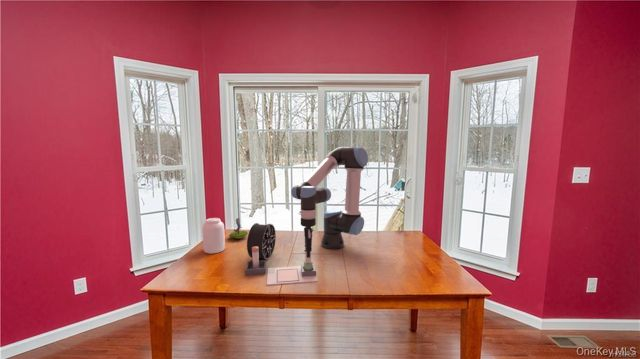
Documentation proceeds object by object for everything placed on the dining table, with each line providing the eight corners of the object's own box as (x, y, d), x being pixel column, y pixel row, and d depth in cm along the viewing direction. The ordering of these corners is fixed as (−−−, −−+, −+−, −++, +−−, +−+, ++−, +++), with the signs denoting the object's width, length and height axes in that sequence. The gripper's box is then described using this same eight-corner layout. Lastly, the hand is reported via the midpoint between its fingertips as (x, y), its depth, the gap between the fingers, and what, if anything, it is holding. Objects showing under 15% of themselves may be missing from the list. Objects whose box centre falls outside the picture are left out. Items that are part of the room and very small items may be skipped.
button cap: (311, 268, 139) (311, 260, 139) (313, 272, 135) (313, 264, 134) (303, 268, 138) (303, 261, 138) (304, 272, 134) (304, 265, 134)
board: (312, 266, 146) (312, 264, 146) (317, 281, 129) (317, 280, 129) (268, 269, 142) (268, 267, 142) (266, 285, 125) (266, 284, 125)
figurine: (231, 235, 196) (230, 215, 194) (249, 234, 197) (248, 214, 195) (226, 241, 182) (226, 220, 180) (246, 241, 183) (245, 220, 181)
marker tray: (266, 265, 146) (266, 260, 146) (265, 274, 136) (265, 268, 136) (247, 266, 145) (247, 261, 144) (245, 275, 135) (245, 269, 135)
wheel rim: (262, 265, 147) (262, 229, 144) (247, 263, 148) (246, 228, 146) (275, 251, 166) (275, 219, 164) (262, 250, 168) (261, 219, 165)
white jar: (207, 255, 159) (206, 223, 156) (200, 249, 168) (199, 218, 165) (228, 250, 167) (227, 219, 164) (220, 245, 176) (219, 215, 174)
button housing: (314, 269, 141) (314, 264, 140) (315, 275, 134) (315, 270, 134) (300, 270, 140) (300, 265, 139) (302, 276, 133) (302, 271, 132)
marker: (259, 267, 142) (258, 246, 141) (259, 270, 139) (258, 248, 138) (253, 268, 142) (252, 246, 141) (252, 271, 139) (251, 248, 137)
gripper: (299, 214, 139) (299, 257, 142) (301, 221, 126) (301, 268, 129) (313, 213, 140) (313, 257, 143) (317, 220, 127) (317, 267, 130)
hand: (308, 262), depth 136 cm, fingers closed
